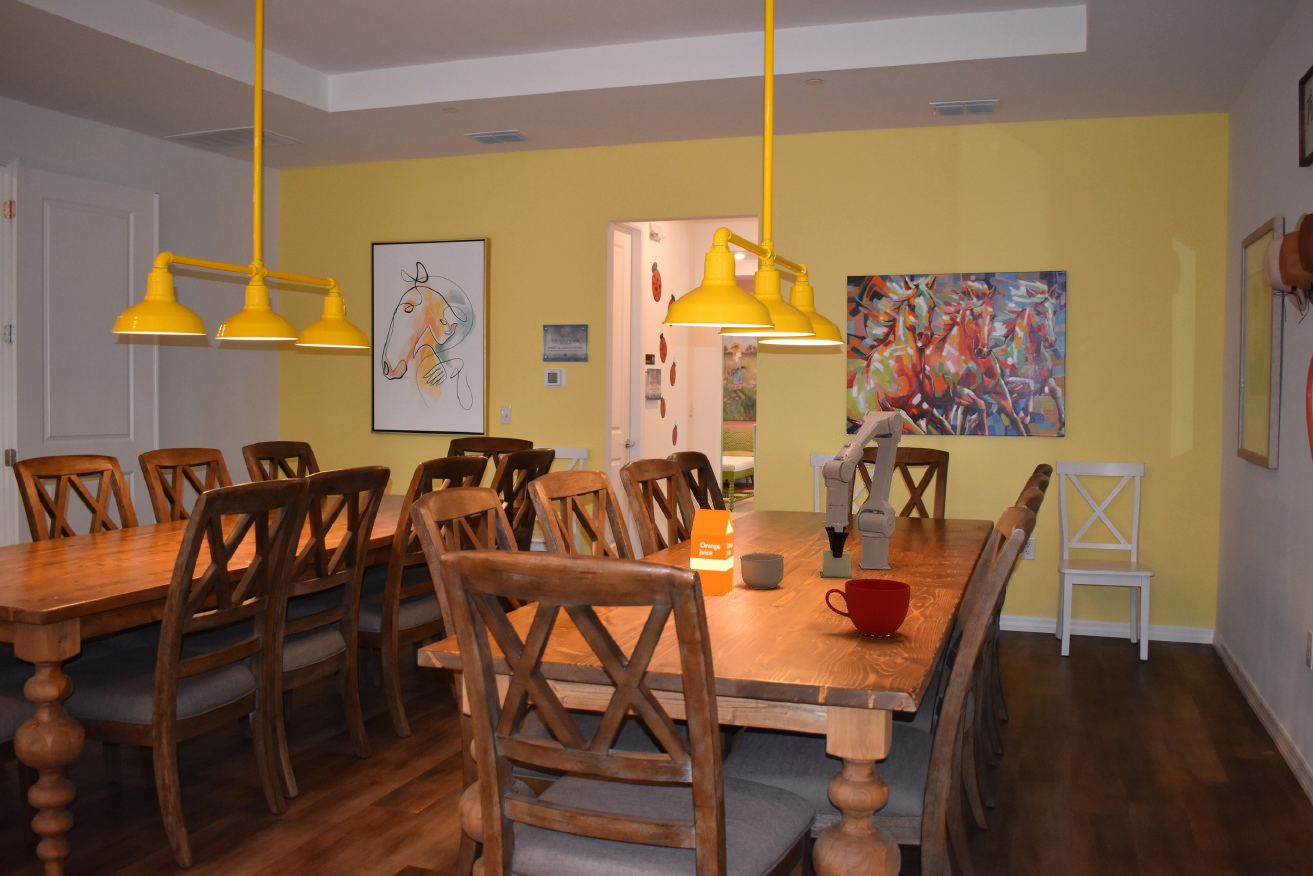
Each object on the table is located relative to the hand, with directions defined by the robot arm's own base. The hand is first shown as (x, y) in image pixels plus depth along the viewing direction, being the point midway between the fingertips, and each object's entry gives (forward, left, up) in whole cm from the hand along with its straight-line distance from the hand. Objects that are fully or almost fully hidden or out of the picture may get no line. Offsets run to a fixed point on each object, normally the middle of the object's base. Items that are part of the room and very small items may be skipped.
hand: (836, 555), depth 276 cm
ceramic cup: (+68, +1, -6) cm, 68 cm away
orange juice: (+29, -32, -6) cm, 44 cm away
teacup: (+19, -20, -6) cm, 28 cm away
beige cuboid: (0, 0, -5) cm, 5 cm away
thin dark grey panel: (0, 0, -5) cm, 5 cm away
